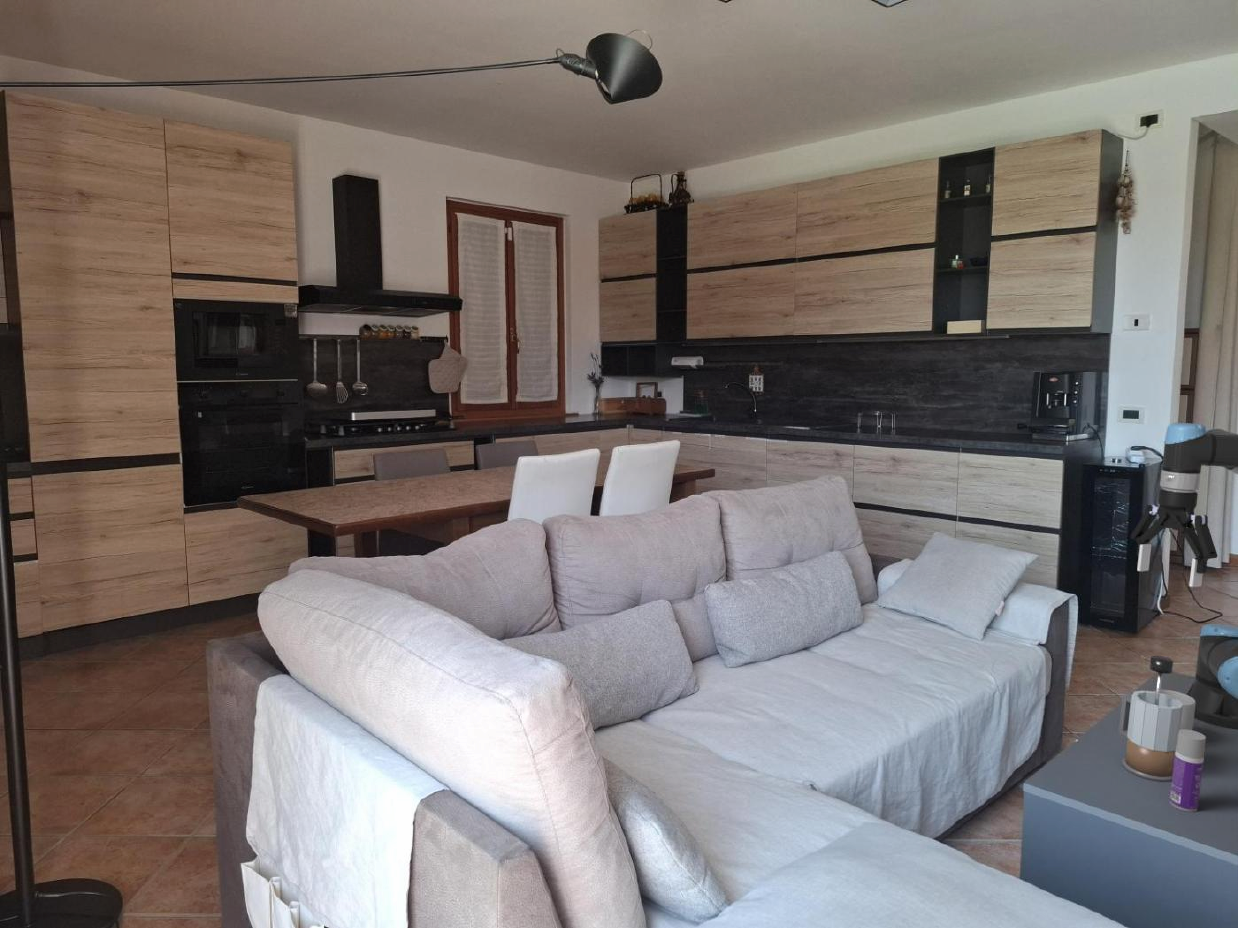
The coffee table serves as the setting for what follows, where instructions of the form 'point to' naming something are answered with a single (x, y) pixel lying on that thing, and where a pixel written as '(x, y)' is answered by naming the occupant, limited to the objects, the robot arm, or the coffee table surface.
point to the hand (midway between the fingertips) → (1168, 578)
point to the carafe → (1150, 734)
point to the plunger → (1160, 671)
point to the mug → (1184, 708)
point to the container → (1187, 770)
